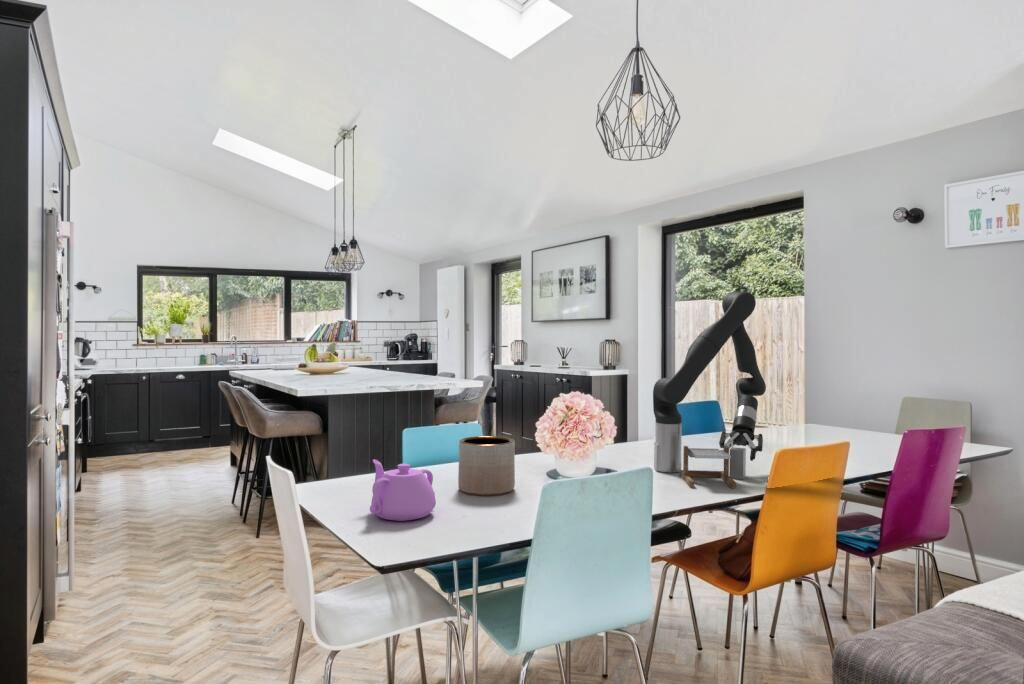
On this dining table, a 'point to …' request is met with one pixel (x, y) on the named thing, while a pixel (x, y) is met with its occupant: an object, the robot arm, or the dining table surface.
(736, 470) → the basalt block
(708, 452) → the trapdoor plate
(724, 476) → the brown wooden frame
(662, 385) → the robot arm
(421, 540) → the dining table surface
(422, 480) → the teapot
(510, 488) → the planter
